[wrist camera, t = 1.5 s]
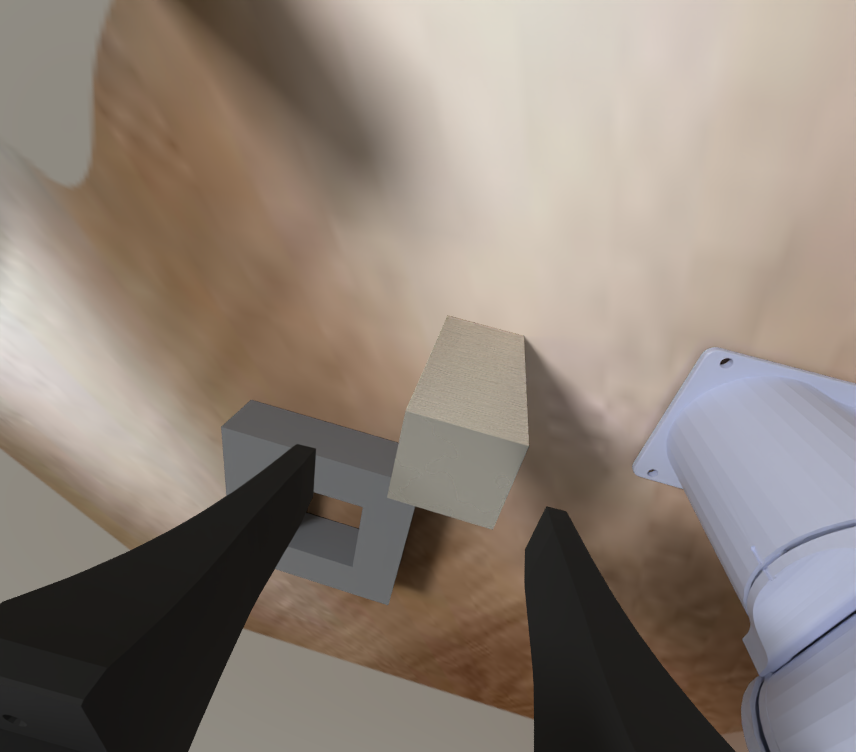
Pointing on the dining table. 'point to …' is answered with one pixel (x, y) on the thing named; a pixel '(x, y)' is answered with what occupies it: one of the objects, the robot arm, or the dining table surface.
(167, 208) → the dining table surface
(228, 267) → the dining table surface
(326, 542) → the frame
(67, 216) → the dining table surface
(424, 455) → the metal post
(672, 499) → the dining table surface
